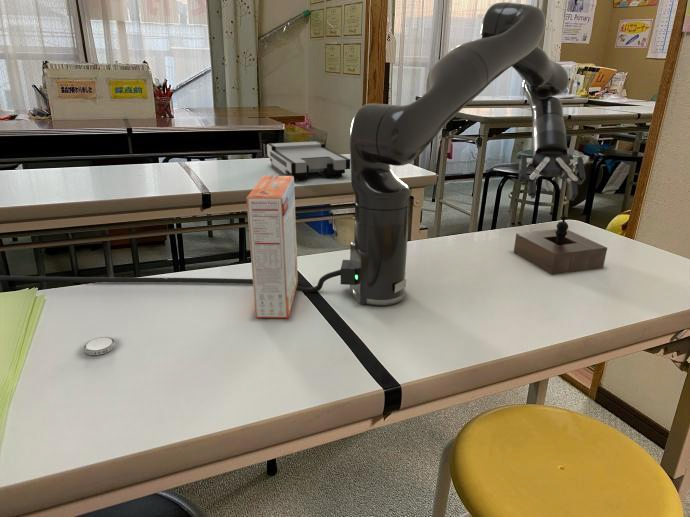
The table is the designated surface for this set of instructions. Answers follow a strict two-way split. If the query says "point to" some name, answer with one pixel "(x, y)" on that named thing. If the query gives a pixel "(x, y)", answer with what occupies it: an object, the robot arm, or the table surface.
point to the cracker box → (273, 245)
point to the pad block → (559, 251)
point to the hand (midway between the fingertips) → (553, 197)
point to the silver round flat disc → (99, 346)
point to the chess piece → (561, 230)
